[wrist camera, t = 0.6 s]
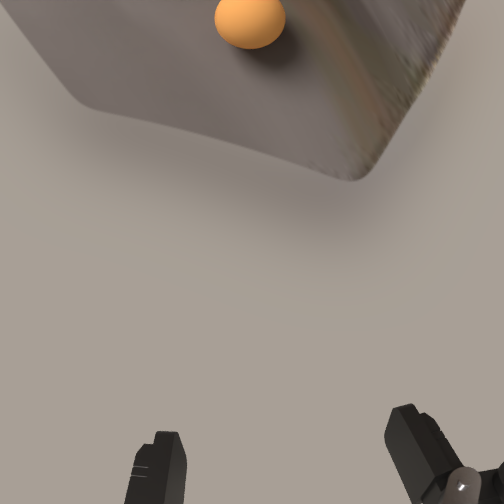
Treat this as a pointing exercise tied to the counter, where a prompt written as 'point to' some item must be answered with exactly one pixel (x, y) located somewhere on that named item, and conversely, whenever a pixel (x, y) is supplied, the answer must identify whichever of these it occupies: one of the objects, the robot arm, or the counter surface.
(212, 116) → the counter surface
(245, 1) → the ball
